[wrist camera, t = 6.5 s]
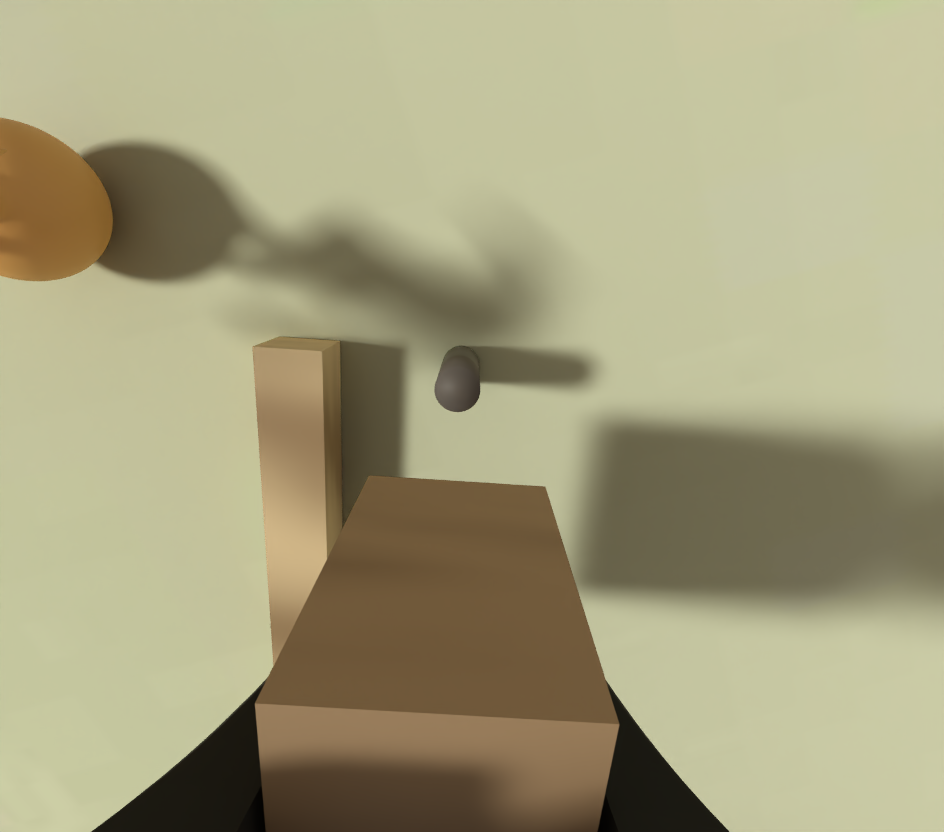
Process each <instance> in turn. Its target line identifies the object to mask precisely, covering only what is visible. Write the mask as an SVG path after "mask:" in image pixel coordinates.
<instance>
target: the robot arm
mask: <svg viewBox="0 0 944 832" xmlns="http://www.w3.org/2000/svg"><path fill="white" fill-rule="evenodd" d="M266 680H267V679H266ZM266 680H265V681H264V682H263V683H262V684H261V685H260V686H259V687H258V688H257V689H256V690H255V692H254V693H253V694H252V695H251V696H250V697H249V698H248V699H247V700H246V701H245V702H243V703H242V704H241V705H240V706H239V707H238V708H237V709H236V710H235V711H234V712H233V713H232V714H231V715H230V716H229V717H228V718H227V719H226V720H225V721H224V722H223V723H222V724H221V725H220V726H219V727H218V728H217V729H216V730H215V731H214V732H213V733H211V734H210V735H209V736H208V737H207V738H206V739H205V740H204V741H203V742H202V743H200V744H199V745H198V746H197V747H196V748H195V749H194V750H193V751H191V752H190V753H189V754H188V755H187V756H186V757H185V758H183V759H182V760H181V761H180V762H179V763H178V764H176V765H175V766H174V767H173V768H172V769H171V770H169V771H168V772H167V773H166V774H165V775H163V776H162V777H161V778H160V779H159V780H157V781H156V782H155V783H154V784H152V785H151V786H150V787H148V788H147V789H146V790H145V791H143V792H142V793H141V794H140V795H138V796H137V797H136V798H135V799H133V800H132V801H131V802H130V803H128V804H127V805H126V806H125V807H123V808H122V809H121V810H120V811H118V812H117V813H116V814H114V815H113V816H112V817H110V818H109V819H108V820H106V821H105V822H104V823H102V824H101V825H100V826H98V827H97V828H96V829H94V830H93V831H92V832H266V829H265V817H264V805H263V793H262V781H261V770H260V758H259V746H258V734H257V722H256V710H255V702H256V700H257V698H258V696H259V694H260V692H261V690H262V688H263V686H264V684H265V682H266ZM606 683H607V681H606ZM607 686H608V689H609V693H610V696H611V699H612V702H613V705H614V709H615V712H616V715H617V718H618V721H619V729H618V734H617V738H616V743H615V748H614V753H613V758H612V763H611V768H610V773H609V778H608V782H607V787H606V792H605V797H604V802H603V807H602V812H601V817H600V822H599V826H598V831H597V832H729V831H728V830H727V829H726V828H725V827H724V826H723V824H722V823H721V822H720V821H719V820H718V819H717V818H716V817H715V816H714V815H713V814H712V813H711V812H710V811H709V810H708V809H707V808H706V806H705V805H704V804H703V803H702V802H701V801H700V800H699V799H698V797H697V796H696V795H695V794H694V793H693V792H692V791H691V790H690V789H689V787H688V786H687V785H686V784H685V783H684V782H683V781H682V779H681V778H680V777H679V776H678V775H677V774H676V772H675V771H674V770H673V769H672V768H671V766H670V765H669V764H668V763H667V761H666V760H665V759H664V758H663V757H662V755H661V754H660V753H659V752H658V750H657V749H656V748H655V747H654V745H653V744H652V743H651V741H650V740H649V739H648V738H647V736H646V735H645V734H644V733H643V731H642V730H641V729H640V727H639V726H638V725H637V723H636V722H635V721H634V719H633V718H632V716H631V715H630V714H629V712H628V711H627V710H626V708H625V707H624V705H623V704H622V703H621V701H620V700H619V698H618V697H617V696H616V694H615V693H614V691H613V690H612V688H611V687H610V685H609V684H608V683H607Z"/></svg>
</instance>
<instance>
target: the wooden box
mask: <svg viewBox="0 0 944 832" xmlns="http://www.w3.org/2000/svg"><path fill="white" fill-rule="evenodd" d="M255 710H256V722H257V734H258V746H259V758H260V770H261V781H262V793H263V805H264V817H265V829H266V832H597V831H598V826H599V822H600V817H601V812H602V807H603V802H604V797H605V792H606V787H607V782H608V778H609V773H610V768H611V763H612V758H613V753H614V748H615V743H616V738H617V734H618V729H619V721H618V718H617V715H616V712H615V709H614V705H613V702H612V699H611V696H610V693H609V689H608V686H607V683H606V680H605V677H604V673H603V670H602V667H601V664H600V661H599V657H598V654H597V651H596V648H595V645H594V641H593V638H592V635H591V632H590V629H589V625H588V622H587V619H586V616H585V612H584V609H583V606H582V603H581V600H580V596H579V593H578V590H577V587H576V584H575V580H574V577H573V574H572V571H571V568H570V564H569V561H568V558H567V555H566V552H565V548H564V545H563V542H562V539H561V536H560V532H559V529H558V526H557V523H556V520H555V516H554V513H553V510H552V507H551V504H550V500H549V497H548V494H547V491H546V488H545V487H543V486H527V485H511V484H496V483H480V482H464V481H448V480H433V479H417V478H401V477H386V476H370V475H369V476H368V478H367V480H366V482H365V484H364V486H363V488H362V490H361V492H360V494H359V496H358V498H357V500H356V502H355V504H354V506H353V508H352V510H351V512H350V514H349V516H348V518H347V520H346V522H345V524H344V526H343V528H342V530H341V532H340V534H339V536H338V538H337V540H336V542H335V544H334V546H333V548H332V550H331V552H330V554H329V556H328V558H327V560H326V562H325V564H324V566H323V568H322V570H321V572H320V574H319V576H318V578H317V580H316V582H315V584H314V586H313V588H312V590H311V592H310V594H309V596H308V598H307V600H306V602H305V604H304V606H303V608H302V610H301V612H300V614H299V616H298V618H297V620H296V622H295V624H294V626H293V628H292V630H291V632H290V634H289V636H288V638H287V640H286V642H285V644H284V646H283V648H282V650H281V652H280V654H279V656H278V658H277V660H276V662H275V664H274V666H273V668H272V670H271V672H270V674H269V676H268V678H267V680H266V682H265V684H264V686H263V688H262V690H261V692H260V694H259V696H258V698H257V700H256V702H255Z"/></svg>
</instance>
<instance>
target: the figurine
mask: <svg viewBox="0 0 944 832" xmlns="http://www.w3.org/2000/svg"><path fill="white" fill-rule="evenodd" d="M112 228H113V215H112V208H111V204H110V200H109V198H108V195H107V192H106V190H105V188H104V186H103V184H102V183H101V181H100V179H99V178H98V176H97V175H96V173H95V172H94V171H93V170H92V168H91V167H90V166H89V165H88V164H87V163H86V162H85V160H84V159H83V158H81V157H80V156H79V155H78V154H77V153H76V152H75V151H74V150H72V149H71V148H70V147H69V146H67V145H66V144H64V143H63V142H61V141H60V140H58V139H57V138H55V137H53V136H52V135H50V134H48V133H46V132H44V131H42V130H40V129H38V128H35V127H33V126H30V125H27V124H24V123H21V122H18V121H14V120H10V119H5V118H0V276H4V277H8V278H12V279H18V280H26V281H50V280H57V279H62V278H66V277H69V276H72V275H75V274H77V273H79V272H81V271H83V270H85V269H86V268H88V267H89V266H91V265H92V264H93V263H94V262H95V261H96V260H97V259H98V258H99V257H100V256H101V255H102V254H103V252H104V251H105V249H106V247H107V245H108V243H109V241H110V237H111V234H112Z"/></svg>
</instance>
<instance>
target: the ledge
mask: <svg viewBox="0 0 944 832" xmlns="http://www.w3.org/2000/svg"><path fill="white" fill-rule="evenodd" d="M253 361H254V376H255V391H256V407H257V422H258V437H259V452H260V467H261V482H262V498H263V513H264V528H265V543H266V558H267V574H268V589H269V604H270V619H271V634H272V650H273V665H274V664H275V662H276V660H277V658H278V656H279V654H280V652H281V650H282V648H283V646H284V644H285V642H286V640H287V638H288V636H289V634H290V632H291V630H292V628H293V626H294V624H295V622H296V620H297V618H298V616H299V614H300V612H301V610H302V608H303V606H304V604H305V602H306V600H307V598H308V596H309V594H310V592H311V590H312V588H313V586H314V584H315V582H316V580H317V578H318V576H319V574H320V572H321V570H322V568H323V566H324V564H325V562H326V560H327V558H328V556H329V554H330V552H331V550H332V548H333V546H334V544H335V542H336V540H337V538H338V536H339V534H340V532H341V530H342V447H341V366H340V341H334V340H320V339H305V338H290V337H277V338H274V339H272V340H269V341H266V342H264V343H261V344H258V345H256V346H253ZM479 395H480V376H479V360H478V357H477V355H476V354H475V352H474V351H473V350H471V349H470V348H468V347H464V346H457V347H454V348H452V349H450V350H449V351H448V352H447V353H446V355H445V357H444V359H443V362H442V365H441V368H440V371H439V374H438V378H437V381H436V384H435V396H436V398H437V400H438V402H439V403H440V405H442V406H443V407H444V408H445V409H447V410H450V411H453V412H462V411H466V410H468V409H470V408H471V407H472V406H474V405H475V403H476V402H477V400H478V398H479Z"/></svg>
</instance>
